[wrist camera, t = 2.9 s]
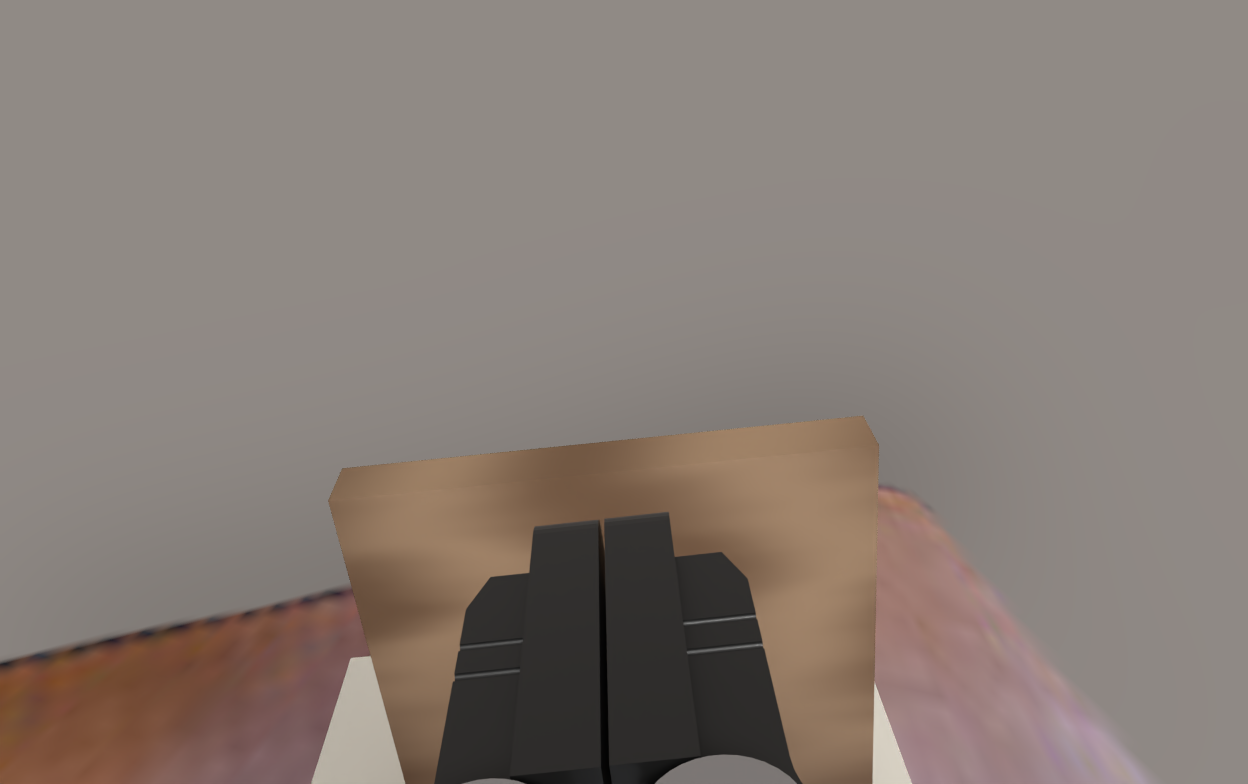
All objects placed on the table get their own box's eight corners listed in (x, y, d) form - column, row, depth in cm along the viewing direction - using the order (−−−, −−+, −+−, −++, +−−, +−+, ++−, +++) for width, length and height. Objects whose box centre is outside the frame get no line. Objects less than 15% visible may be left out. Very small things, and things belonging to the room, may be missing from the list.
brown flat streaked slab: (274, 1100, 25) (42, 576, 17) (318, 935, 28) (143, 452, 21) (966, 1036, 24) (1017, 478, 17) (914, 878, 28) (937, 371, 21)
